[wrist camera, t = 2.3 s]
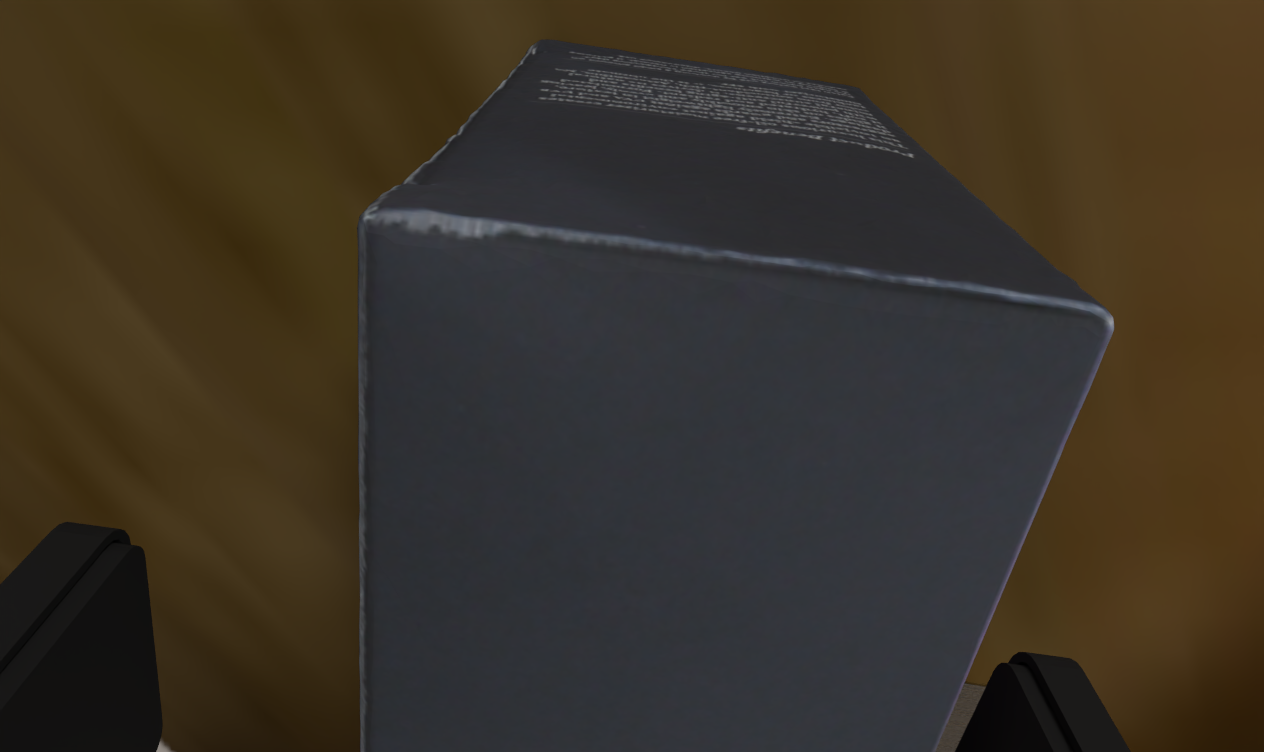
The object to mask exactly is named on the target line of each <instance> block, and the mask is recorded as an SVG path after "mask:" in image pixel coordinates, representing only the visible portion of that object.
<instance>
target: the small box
mask: <svg viewBox="0 0 1264 752" xmlns="http://www.w3.org/2000/svg"><path fill="white" fill-rule="evenodd" d="M357 233H358V369H359V431H358V463H359V495H360V514H359V563H360V623H359V667H360V722H361V737H360V751H361V752H935V751H936V748H937V746H938V744H939V741H940V739H941V737H942V734H943V732H944V730H945V727H946V725H947V723H948V720H949V718H950V716H951V713H952V711H953V709H954V706H955V704H956V702H957V699H958V697H959V694H960V692H961V690H962V687H963V685H964V683H965V680H966V678H967V675H968V673H969V671H970V668H971V666H972V663H973V661H974V659H975V656H976V654H977V652H978V649H979V647H980V644H981V642H982V640H983V637H984V635H985V633H986V630H987V628H988V625H989V623H990V621H991V618H992V616H993V614H994V611H995V609H996V606H997V604H998V602H999V599H1000V597H1001V595H1002V592H1003V590H1004V587H1005V585H1006V583H1007V580H1008V578H1009V576H1010V573H1011V571H1012V568H1013V566H1014V564H1015V561H1016V559H1017V557H1018V554H1019V552H1020V550H1021V547H1022V545H1023V543H1024V540H1025V538H1026V536H1027V533H1028V531H1029V529H1030V526H1031V524H1032V521H1033V519H1034V517H1035V514H1036V512H1037V510H1038V507H1039V505H1040V503H1041V500H1042V498H1043V496H1044V493H1045V491H1046V489H1047V486H1048V484H1049V482H1050V479H1051V477H1052V475H1053V472H1054V470H1055V467H1056V465H1057V463H1058V460H1059V458H1060V456H1061V453H1062V451H1063V448H1064V445H1065V443H1066V440H1067V438H1068V436H1069V434H1070V432H1071V429H1072V427H1073V425H1074V423H1075V420H1076V418H1077V416H1078V414H1079V411H1080V409H1081V407H1082V405H1083V403H1084V400H1085V398H1086V396H1087V394H1088V391H1089V389H1090V387H1091V384H1092V382H1093V379H1094V377H1095V374H1096V372H1097V369H1098V367H1099V364H1100V362H1101V359H1102V357H1103V355H1104V352H1105V350H1106V347H1107V345H1108V343H1109V340H1110V338H1111V336H1112V333H1113V331H1114V322H1113V316H1112V315H1111V314H1110V313H1109V312H1108V310H1107V309H1106V308H1105V307H1104V306H1103V305H1101V304H1100V303H1099V302H1098V301H1097V300H1095V299H1094V298H1093V297H1092V296H1090V295H1089V294H1087V293H1086V292H1085V291H1083V290H1082V289H1081V288H1080V287H1079V286H1078V284H1077V283H1076V282H1075V281H1074V280H1072V279H1071V278H1070V277H1068V276H1067V275H1065V274H1063V273H1062V272H1060V271H1059V270H1057V269H1056V268H1055V267H1054V266H1053V265H1051V264H1050V263H1049V262H1048V261H1047V260H1046V259H1045V258H1044V257H1043V256H1042V255H1041V254H1039V253H1038V252H1037V251H1036V250H1035V249H1034V248H1033V247H1031V246H1030V245H1029V244H1028V243H1027V242H1026V241H1025V240H1024V239H1023V238H1022V237H1021V236H1020V235H1019V234H1018V233H1017V232H1016V231H1015V230H1013V229H1012V228H1011V227H1010V226H1008V225H1007V224H1006V223H1005V222H1003V221H1002V220H1001V219H1000V218H999V217H998V216H997V215H996V214H995V213H993V212H992V211H991V210H990V209H989V208H988V207H987V206H986V204H985V203H984V202H982V201H981V200H979V199H978V198H977V197H976V196H974V195H973V194H972V193H971V192H970V191H969V190H968V189H967V188H966V187H965V186H964V185H963V184H962V183H961V182H960V181H958V180H957V179H956V178H955V177H954V176H953V175H952V174H950V173H949V172H948V171H947V170H946V169H945V168H944V167H943V166H941V165H940V164H939V163H938V162H937V161H936V160H935V159H934V158H933V157H932V156H931V155H930V154H929V153H927V152H926V151H925V150H924V149H923V148H922V147H921V146H920V145H919V144H918V143H917V142H916V141H915V140H914V139H912V138H911V137H910V136H909V135H907V134H906V132H905V131H904V130H903V129H902V128H900V127H899V126H898V125H897V124H896V123H895V122H894V121H893V120H892V119H891V118H889V117H888V116H887V115H886V114H885V113H884V112H883V111H882V110H880V109H879V108H878V107H877V106H876V105H874V104H873V102H872V101H870V99H869V98H868V97H867V96H866V95H865V94H864V93H863V92H862V91H861V90H860V89H859V88H856V87H852V86H847V85H842V84H835V83H827V82H823V81H817V80H810V79H806V78H797V77H792V76H787V75H782V74H777V73H764V72H759V71H754V70H747V69H742V68H735V67H729V66H720V65H714V64H708V63H702V62H695V61H688V60H681V59H674V58H669V57H662V56H652V55H647V54H640V53H633V52H627V51H622V50H617V49H609V48H602V47H595V46H588V45H582V44H575V43H567V42H562V41H557V40H540V41H538V42H537V43H535V44H534V45H532V46H531V47H530V48H529V49H528V51H527V52H526V55H525V56H524V57H523V58H522V60H521V62H520V63H519V65H518V66H517V67H516V68H515V69H514V70H513V71H511V73H510V74H509V76H508V78H507V80H504V81H503V82H502V83H501V84H500V86H499V87H497V89H496V90H495V91H494V92H493V93H492V94H491V95H490V96H489V97H488V99H487V100H486V101H484V102H483V104H482V105H481V106H480V107H479V108H478V109H477V110H476V111H475V112H474V113H472V114H471V115H470V117H469V118H468V120H467V122H466V123H465V124H464V125H462V126H461V127H460V129H459V130H458V132H457V134H456V135H454V136H452V137H450V138H449V139H447V141H446V143H445V146H443V147H442V148H441V149H440V150H439V151H438V152H437V153H436V154H435V155H434V156H432V158H431V159H430V160H429V161H428V162H425V163H423V164H422V165H421V166H420V167H419V168H418V169H417V170H416V171H414V172H413V173H412V174H411V175H410V176H409V177H408V178H407V179H406V180H405V181H404V182H403V183H402V184H401V185H398V186H394V187H393V188H392V189H391V190H390V191H388V192H385V193H383V194H382V195H381V196H380V197H379V198H378V199H376V200H375V201H374V202H373V203H371V204H370V206H369V207H368V208H367V209H366V210H365V211H364V212H363V213H362V214H361V215H360V217H359V222H358V227H357Z"/></svg>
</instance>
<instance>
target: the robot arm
mask: <svg viewBox="0 0 1264 752" xmlns="http://www.w3.org/2000/svg"><path fill="white" fill-rule="evenodd" d="M161 733H162V712H161V702H160V693H159V683H158V674H157V664H156V655H155V645H154V636H153V626H152V617H151V607H150V598H149V588H148V579H147V569H146V560H145V554H144V550H143V549H142V548H141V547H140V546H135V545H131V543H130V539H129V536H128V534H127V533H126V532H125V531H124V530H121V529H115V528H108V527H101V526H93V525H86V524H78V523H71V522H65V523H62V524H59V525H58V526H57V527H56V528H54V529H53V530H52V531H51V532H50V533H49V534H48V535H47V536H46V537H45V538H44V539H43V540H42V541H41V542H40V543H39V544H38V546H37V547H36V548H35V549H34V550H33V551H32V552H31V553H30V554H29V555H28V556H27V557H26V558H25V559H24V560H23V561H22V562H21V563H20V564H19V565H18V567H17V568H16V569H15V570H14V571H13V572H12V573H11V574H10V575H9V576H8V577H7V578H6V579H5V580H4V581H3V582H2V583H1V584H0V752H156V750H157V748H158V745H159V742H160V738H161ZM955 752H1130V750H1129V748H1128V746H1127V745H1126V743H1125V741H1124V740H1123V738H1122V736H1121V734H1120V733H1119V731H1118V729H1117V728H1116V726H1115V724H1114V722H1113V721H1112V719H1111V717H1110V716H1109V714H1108V712H1107V710H1106V709H1105V707H1104V705H1103V704H1102V702H1101V700H1100V699H1099V697H1098V695H1097V693H1096V692H1095V690H1094V688H1093V687H1092V685H1091V683H1090V681H1089V680H1088V678H1087V676H1086V675H1085V673H1084V671H1083V670H1082V668H1081V667H1080V666H1079V664H1078V663H1077V662H1075V661H1074V660H1072V659H1070V658H1064V657H1056V656H1049V655H1042V654H1034V653H1027V652H1018V653H1017V654H1015V655H1014V656H1013V657H1012V658H1011V660H1010V661H1009V662H1008V663H1001V664H999V665H998V666H997V667H996V668H995V670H994V671H993V674H992V676H991V678H990V680H989V682H988V684H987V686H986V688H985V690H984V692H983V694H982V696H981V698H980V700H979V702H978V704H977V707H976V709H975V711H974V713H973V715H972V717H971V719H970V721H969V723H968V725H967V727H966V729H965V731H964V733H963V735H962V738H961V740H960V742H959V744H958V746H957V748H956V750H955Z"/></svg>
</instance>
